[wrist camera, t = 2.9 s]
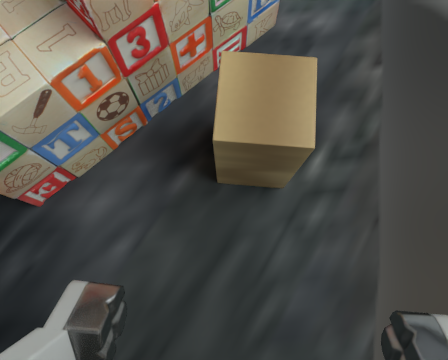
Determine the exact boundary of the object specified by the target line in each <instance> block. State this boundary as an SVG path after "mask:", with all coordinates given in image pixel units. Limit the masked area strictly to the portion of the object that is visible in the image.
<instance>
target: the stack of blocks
mask: <svg viewBox="0 0 448 360" xmlns="http://www.w3.org/2000/svg"><path fill="white" fill-rule="evenodd" d="M279 1H280V0H0V194H1V195H4V196H7V197H10V198H13V199H15V198H17V199H19V200H21V201H24V202H27V203H30V204H32V205H35V206H38V207H40V206H41V205H42V204H43V203H44V201H45V200H46V199H48V198H49V197H51V196H52V195H53V194H54V193H56V192H57V191H58V190H60V189H61V188H62V187H64V186H65V185H66V184H67V183H68V182H69V181H72V180H74V179H75V178H76V177H80V176H81V175H83V174H84V173H85V172H86V171H88V170H89V169H90V168H92V167H93V166H94V165H95V164H97V163H98V162H99V161H100V160H102V159H103V158H104V157H106V156H107V155H108V154H109V153H111V152H112V151H113V150H114V149H116V148H117V147H118V145H119V144H120V143H121V142H122V141H124V140H125V139H126V138H128V137H129V136H131V135H132V134H133V133H134V132H135V131H136V130H138V129H139V128H140V127H141V126H145V125H146V124H148V122H149V121H150V120H151V119H152V117H153V116H154V115H155V114H156V113H159V112H161V111H162V110H164V109H165V108H166V107H168V106H169V105H170V104H171V102H172V101H173V100H174V99H178V98H180V97H181V96H182V95H183V94H185V93H186V92H187V91H188V90H190V89H191V88H192V87H194V86H195V85H196V84H197V83H199V82H200V81H201V80H203V79H204V78H205V77H206V76H208V75H209V74H210V73H211V72H213V71H215V70H217V68H218V67H219V66H220V60H221V52H222V51H233V52H238V51H239V50H243V49H244V48H245V47H247V46H249V45H250V44H251V43H252V42H254V41H255V40H256V39H258V38H259V37H260V36H261V35H263V34H264V33H265V32H267V31H268V30H269V29H270V28H272V27H273V26H274V25H275V23H276V17H277V12H278V7H279Z"/></svg>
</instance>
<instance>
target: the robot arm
mask: <svg viewBox="0 0 448 360" xmlns="http://www.w3.org/2000/svg"><path fill="white" fill-rule="evenodd" d="M124 294H125V292H124V287H123V286H121V285H113V284H104V283H96V282H87V281H78V280H73V281H72V282H70V283H69V284H68V286H67V287H66V289H65V291H64V292H63V294H62V296H61V298H60V299H59V301H58V303H57V304H56V306H55V308H54V309H53V311H52V313H51V315H50V316H49V318H48V320H47V321H46V323H45V325H44V326H43V328H36V329H35V330H33V331H32V332H30V333H29V334H28V335H26V336H25V337H23V338H22V339H20V340H19V341H18V342H16V343H15V344H13V345H12V346H10V347H9V348H8V349H6V350H5V351H3V352H2V353H0V360H113V357H114V354H115V351H116V344H115V340H116V339H117V338H118V337H119V336H120V335H121V334H122V332H123V329H124V326H125V321H126V316H127V306H126V302H125V301H123V300H122V299H123V296H124ZM390 321H391V323H392V324H390V325H388V326H387V327H385V328H384V330H383V333H382V337H381V346H382V352H383V355H384V357H385V360H448V315H437V314H428V313H419V312H407V311H395V312H393V313H392V315H391V316H390Z"/></svg>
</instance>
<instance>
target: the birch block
mask: <svg viewBox="0 0 448 360" xmlns="http://www.w3.org/2000/svg"><path fill="white" fill-rule="evenodd" d="M316 85H317V58H315V57H301V56H287V55H274V54H260V53H246V52H233V51H222V52H221V60H220V70H219V80H218V90H217V100H216V110H215V120H214V129H213V139H212V140H213V148H214V157H215V166H216V175H217V183H225V184H237V185H249V186H261V187H272V188H284V187H285V185H286V184H287V183H288V182H289V180H290V179H291V178H292V176H293V175H294V174H295V173H296V171H297V170H298V169H299V168H300V166H301V165H302V164H303V163H304V161H305V160H306V159H307V157H308V156H309V155H310V154H311V152H312V151H313V150H314V149H315V124H316Z"/></svg>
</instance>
